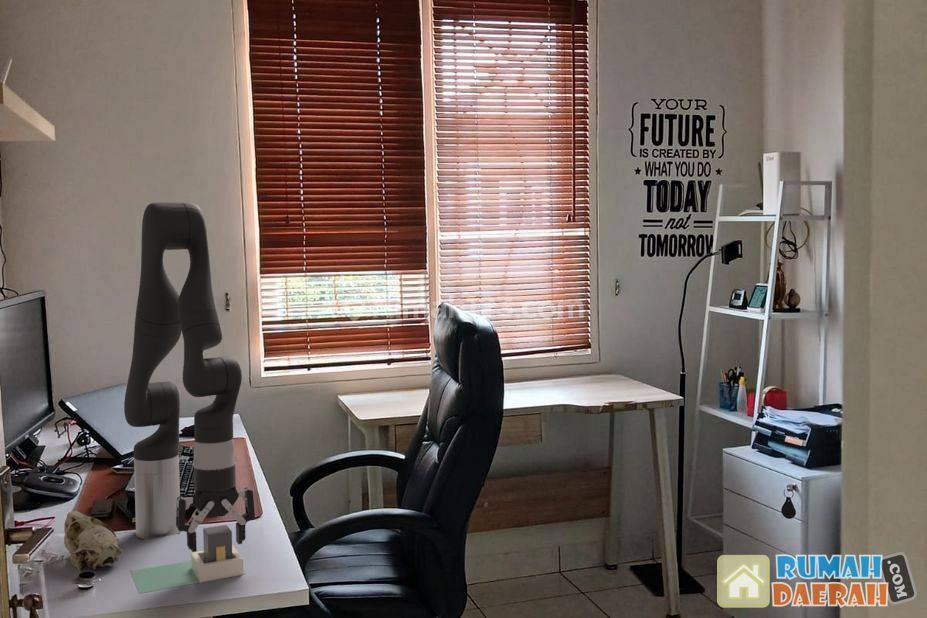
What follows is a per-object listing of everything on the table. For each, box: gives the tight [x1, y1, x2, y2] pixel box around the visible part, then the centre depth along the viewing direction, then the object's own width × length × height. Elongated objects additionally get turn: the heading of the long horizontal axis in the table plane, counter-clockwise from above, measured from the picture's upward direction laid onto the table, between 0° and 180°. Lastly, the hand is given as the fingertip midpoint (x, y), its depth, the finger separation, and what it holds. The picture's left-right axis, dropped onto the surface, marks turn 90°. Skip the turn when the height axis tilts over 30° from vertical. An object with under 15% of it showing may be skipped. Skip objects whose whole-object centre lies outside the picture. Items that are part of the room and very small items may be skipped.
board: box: [130, 560, 247, 595], centre depth 160 cm, size 12×19×1 cm, turn 118°
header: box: [190, 545, 244, 583], centre depth 161 cm, size 8×8×3 cm
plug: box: [202, 524, 233, 564], centre depth 160 cm, size 5×4×8 cm
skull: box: [63, 510, 124, 572], centre depth 166 cm, size 10×16×10 cm, turn 50°
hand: (216, 546), depth 160 cm, fingers open, 8 cm apart
